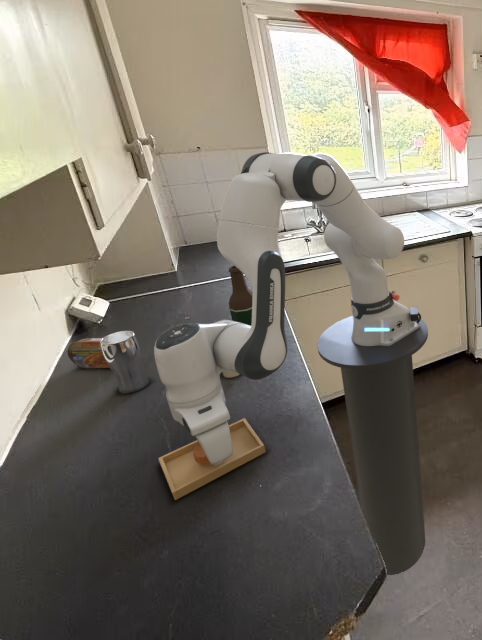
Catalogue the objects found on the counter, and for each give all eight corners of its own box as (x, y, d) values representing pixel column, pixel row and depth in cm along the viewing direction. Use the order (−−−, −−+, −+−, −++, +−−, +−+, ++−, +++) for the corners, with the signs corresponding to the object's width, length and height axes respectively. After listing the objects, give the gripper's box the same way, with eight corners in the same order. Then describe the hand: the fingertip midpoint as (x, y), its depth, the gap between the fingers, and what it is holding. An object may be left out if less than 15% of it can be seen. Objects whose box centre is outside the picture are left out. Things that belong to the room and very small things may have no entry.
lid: (198, 469, 86) (196, 462, 85) (192, 452, 90) (189, 445, 89) (232, 452, 90) (230, 445, 89) (225, 437, 94) (223, 430, 93)
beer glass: (115, 385, 112) (97, 336, 107) (149, 374, 117) (133, 327, 111) (118, 398, 107) (99, 347, 102) (153, 386, 112) (136, 337, 107)
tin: (71, 368, 119) (61, 342, 116) (82, 362, 122) (72, 336, 119) (127, 368, 119) (118, 342, 116) (136, 361, 122) (127, 336, 119)
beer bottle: (246, 328, 141) (231, 261, 132) (269, 329, 140) (255, 262, 132) (230, 341, 133) (213, 271, 125) (255, 342, 133) (239, 272, 125)
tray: (246, 424, 100) (244, 417, 99) (265, 452, 92) (264, 445, 92) (160, 465, 88) (158, 458, 88) (175, 500, 81) (172, 492, 80)
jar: (241, 363, 122) (234, 331, 119) (248, 371, 119) (240, 339, 115) (220, 371, 119) (211, 339, 115) (226, 380, 115) (218, 346, 111)
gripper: (166, 385, 89) (182, 436, 94) (192, 434, 77) (210, 490, 81) (201, 372, 94) (215, 421, 99) (232, 416, 81) (246, 471, 86)
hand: (213, 453), depth 90 cm, fingers closed on lid, 6 cm apart
